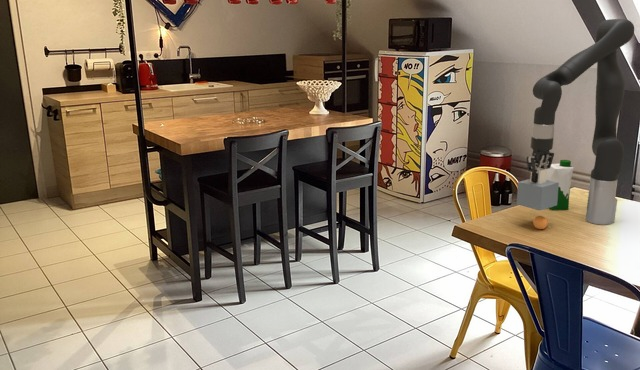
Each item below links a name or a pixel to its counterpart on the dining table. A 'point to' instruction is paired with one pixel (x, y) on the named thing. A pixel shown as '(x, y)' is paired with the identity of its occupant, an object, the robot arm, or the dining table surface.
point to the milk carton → (561, 182)
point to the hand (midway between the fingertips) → (538, 181)
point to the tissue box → (538, 192)
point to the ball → (540, 222)
